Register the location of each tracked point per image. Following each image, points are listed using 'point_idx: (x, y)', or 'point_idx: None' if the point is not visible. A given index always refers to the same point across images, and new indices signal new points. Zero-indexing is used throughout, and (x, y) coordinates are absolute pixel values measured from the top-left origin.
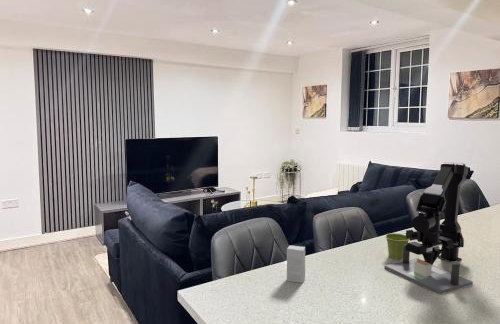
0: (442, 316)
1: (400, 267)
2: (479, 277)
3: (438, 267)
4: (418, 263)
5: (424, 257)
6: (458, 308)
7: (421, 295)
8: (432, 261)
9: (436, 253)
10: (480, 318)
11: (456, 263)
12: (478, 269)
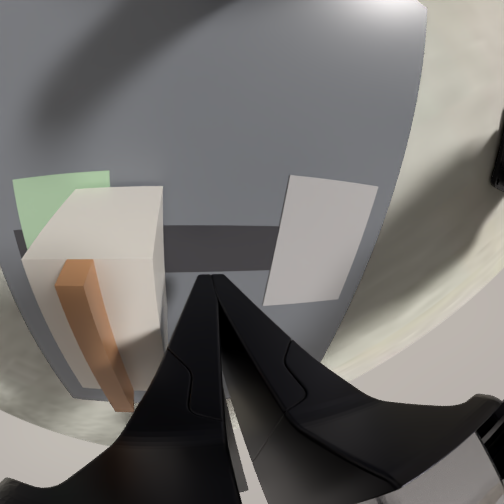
0: (24, 417)
1: (59, 30)
2: (395, 332)
3: (383, 216)
4: (47, 316)
5: (157, 386)
6: (85, 425)
7: (5, 359)
8: (227, 385)
9: (266, 495)
10: (108, 444)
11: (242, 490)
12: (462, 279)
